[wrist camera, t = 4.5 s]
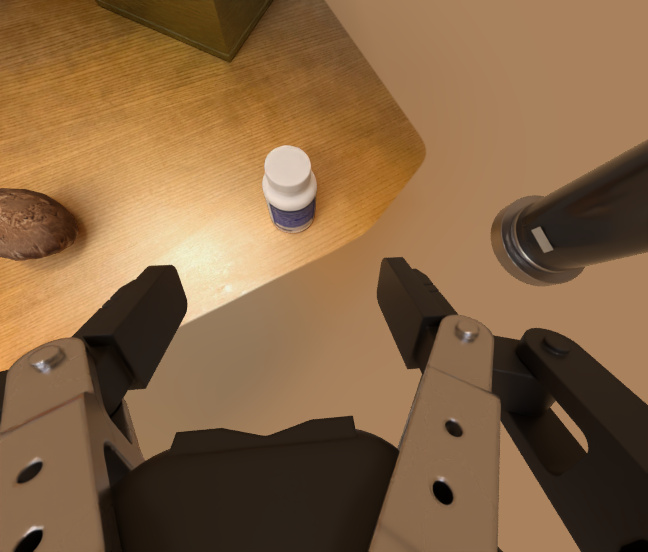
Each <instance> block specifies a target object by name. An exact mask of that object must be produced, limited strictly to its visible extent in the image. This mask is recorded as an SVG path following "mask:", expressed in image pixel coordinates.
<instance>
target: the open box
mask: <svg viewBox="0 0 648 552" xmlns="http://www.w3.org/2000/svg"><path fill="white" fill-rule="evenodd" d="M272 1H273V0H96V2H97V3H98V5H99V6H101V7H103V8H106V9H108V10H110V11H113V12H115V13H117V14H119V15H122V16H124V17H126V18H129V19H131V20H133V21H136V22H138V23H140V24H143V25H145V26H147V27H150V28H152V29H154V30H156V31H159V32H161V33H163V34H166V35H168V36H170V37H173V38H175V39H177V40H180V41H182V42H184V43H186V44H189V45H191V46H193V47H196V48H198V49H200V50H203V51H205V52H207V53H210V54H212V55H214V56H217V57H219V58H221V59H223V60H226V61H228V62H231V60H232V59H233V57H234V56H235V55H236V53H237V52H238V50H239V49H240V47H241V46H242V44H243V43H244V42H245V40H246V39H247V37H248V36H249V34H250V33H251V31H252V30H253V28H254V27H255V26H256V24H257V23H258V21H259V20H260V18H261V17H262V15H263V14H264V13H265V11H266V10H267V8H268V7H269V5H270V4H271V2H272Z"/></svg>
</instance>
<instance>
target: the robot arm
mask: <svg viewBox="0 0 648 552" xmlns="http://www.w3.org/2000/svg"><path fill="white" fill-rule="evenodd" d="M511 237H512V241H513V244H514V247H515V249H516V251H517V252H518V254H519V255H520V256H521V258H522V259H523V260H524V261H525V262H526V263H527V264H529V265H530V266H532V267H533V268H535V269H537V270H539V271H542V272H545V273H551V274H556V273H562V272H566V271H570V270H572V269H576V268H580V267H584V266H589V265H593V264H598V263H602V262H607V261H611V260H615V259H620V258H624V257H629V256H633V255H637V254H642V253H646V252H648V140H646V141H644V142H642V143H641V144H639V145H637V146H635V147H633V148H632V149H630V150H628V151H626V152H624V153H622V154H621V155H619V156H617V157H615V158H614V159H612V160H610V161H608V162H606V163H605V164H603V165H601V166H599V167H597V168H596V169H594V170H592V171H590V172H588V173H587V174H585V175H583V176H581V177H579V178H578V179H576V180H574V181H572V182H570V183H569V184H567V185H565V186H563V187H562V188H560V189H558V190H556V191H554V192H553V193H550V194H549V195H547V196H545V197H543V198H542V199H540V200H538V201H536V202H534V203H531V204H529V205H527V206H526V207H524V208H522V209H521V210H520V211H518V213H517V214H516V215H515V217H514V219H513V221H512V225H511ZM377 300H378V304H379V306H380V308H381V311H382V313H383V315H384V317H385V320H386V322H387V324H388V326H389V329H390V331H391V333H392V336H393V338H394V340H395V342H396V345H397V347H398V349H399V351H400V353H401V356H402V358H403V360H404V363H405V365H406V367H407V369H416V368H420V370H421V372H422V377H421V379H420V382H419V385H418V388H417V392H416V394H415V397H414V401H413V404H412V407H411V410H410V413H409V416H408V419H407V422H406V425H405V428H404V431H403V434H402V436H401V440H400V442H399V445H398V448H396V447H394V446H393V445H392V444H390V443H389V442H387V441H385V440H384V439H382V438H380V437H378V436H376V435H374V434H371V433H368V432H365V431H362V430H357V429H355V425H354V420H353V416H345V417H334V418H324V419H313V420H309V421H306V422H304V423H301V424H298V425H296V426H293V427H290V428H288V429H285V430H282V431H280V432H277V433H274V434H272V435H268V436H261V435H256V434H251V433H245V432H240V431H235V430H229V429H224V428H217V429H207V430H197V431H186V432H177V433H176V435H175V438H174V441H173V443H172V446H171V448H170V449H168V450H166V451H164V452H162V453H159V454H157V455H155V456H153V457H152V458H150V459H148V460H146V461H145V460H144V458H143V455H142V453H141V450H140V447H139V444H138V440H137V437H136V434H135V430H134V427H133V423H132V420H131V416H130V413H129V409H128V406H127V403H126V401H125V400H124V398H123V397H124V396H125V394H126V392H127V390H135V389H145V388H146V387H147V385H148V383H149V381H150V379H151V378H152V376H153V374H154V372H155V370H156V368H157V366H158V364H159V363H160V361H161V359H162V357H163V355H164V353H165V352H166V349H167V348H168V346H169V344H170V342H171V340H172V339H173V337H174V335H175V333H176V331H177V329H178V327H179V325H180V324H181V322H182V320H183V318H184V316H185V314H186V312H187V298H186V295H185V292H184V290H183V287H182V284H181V281H180V278H179V275H178V272H177V270H176V268H175V267H174V266H173V265H158V266H148V267H147V268H146V269H145V270H144V271H143V272H142V273H141V274H140V275H139V276H138V277H137V279H136V280H133V281H131V282H129V283H128V284H126V285H124V286H123V287H121V288H120V289H119V290H118V291H117V292H116V293H115V294H114V295H113V296H112V297H111V298H110V300H108V301H107V302H106V303H105V304H104V305H103V306H102V308H100V309H99V310H98V311H97V312H96V313H95V314H94V315H93V316H92V317H91V318H90V319H89V320H88V321H87V322H86V323H85V324H84V325H83V326H82V327H81V328H80V329H79V330H78V331H77V332H76V333H75V334H74V335H73V336H72V337H71V338H62V339H58V340H54V341H51V342H48V343H45V344H43V345H41V346H39V347H37V348H35V349H33V350H31V351H29V352H28V353H26V354H25V355H23V356H22V357H21V358H19V359H18V360H17V361H16V362H15V363H14V364H13V365H12V366H11V367H10V369H9V370H5V371H1V372H0V552H503V551H502V550H501V549H500V548H499V547H498V546H497V545H498V502H499V455H500V420H501V422H502V424H503V425H504V427H505V428H506V430H507V432H508V433H509V435H510V437H511V438H512V440H513V441H514V443H515V445H516V446H517V448H518V450H519V451H520V453H521V455H522V456H523V457H524V459H525V461H526V463H527V464H528V466H529V468H530V469H531V471H532V472H533V474H534V476H535V477H536V479H537V480H538V482H539V484H540V485H541V487H542V489H543V490H544V492H545V494H546V495H547V497H548V499H549V500H550V502H551V503H552V505H553V507H554V508H555V510H556V511H557V513H558V515H559V516H560V518H561V520H562V521H563V523H564V524H565V526H566V528H567V529H568V531H569V533H570V534H571V536H572V538H573V539H574V541H575V543H576V544H577V546H578V547H579V549H580V551H581V552H648V405H647V404H646V403H644V402H643V401H642V400H641V399H640V398H639V397H638V396H637V395H635V394H634V393H633V392H632V391H631V390H630V389H629V388H627V387H626V386H625V385H624V384H623V383H622V382H620V381H619V380H618V379H617V378H616V377H615V376H614V375H612V374H611V373H610V372H609V371H608V370H607V369H606V368H604V367H603V366H602V365H601V364H600V363H599V362H597V361H596V360H595V359H594V358H593V357H592V356H591V355H589V354H588V353H587V352H586V351H584V350H583V349H582V348H581V347H580V346H579V345H578V344H577V343H575V342H574V341H572V340H571V339H569V338H567V337H565V336H563V335H561V334H559V333H556V332H553V331H551V330H547V329H541V328H532V329H529V330H527V331H526V332H525V333H524V335H523V336H522V338H521V340H515V339H510V338H504V337H499V336H494V335H492V333H491V331H490V330H489V329H488V328H487V327H486V326H485V325H483V324H482V323H480V322H478V321H477V320H474V319H472V318H470V317H466V316H462V315H458V314H457V312H456V311H455V310H454V309H453V307H452V306H451V305H450V304H449V303H448V301H447V300H446V299H445V298H444V297H443V295H442V294H441V293H440V292H439V291H438V289H437V288H436V287H435V286H434V285H433V283H432V282H431V281H430V279H429V278H428V277H427V276H426V275H425V274H423V273H422V272H420V271H419V270H417V269H412V268H411V267H410V266H409V264H408V263H407V262H406V261H405V259H404V258H403V257H395V258H384V259H383V260H382V262H381V268H380V274H379V281H378V287H377ZM555 401H557V402H558V403H559V405H560V406H561V407H562V408H563V409H564V410H565V411H566V413H567V414H568V415H569V416H570V418H571V419H572V420H573V421H574V422H575V423H576V425H577V426H578V427H579V428H580V429H581V431H582V432H583V433H584V435H585V437H586V439H587V442H588V453H586V452H585V450H584V449H583V448H582V446H581V445H580V444H579V443H578V442H577V440H576V439H575V438H574V437H573V436H572V434H571V433H570V432H569V430H568V429H567V428H566V427H565V426H564V424H563V423H562V422H561V421H560V419H559V418H558V417H557V416H556V414H555V413H554V412H553V411H552V410H551V408H550V407H551V406H552V404H553V403H554V402H555Z"/></svg>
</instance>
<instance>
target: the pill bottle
mask: <svg viewBox="0 0 648 552" xmlns="http://www.w3.org/2000/svg"><path fill="white" fill-rule="evenodd" d="M264 168H265V174H264V177H263V181H262V187H263V192H264V195H265V199H266V202H267V206H268V209H269V213H270V216H271V219H272V222H273V223H274V225H275V226H276V227H277V228H279V229H280V230H282V231H284V232H288V233H298V232H301V231H303V230H305V229H307V228H308V227H309V226H310V225H311V223H312V222H313V219H314V216H315V205H316V194H317V182H316V178H315V175H314V173H313V172H312V170H311V163H310V160H309V157H308V156H307V154H306V153H305V152H304V151H302V150H301V149H299V148H297V147H294V146H280V147H277V148H275V149H273V150H272V151H271V152H270V153H269V154H268V156H267V157H266V159H265V164H264Z"/></svg>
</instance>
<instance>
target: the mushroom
mask: <svg viewBox="0 0 648 552" xmlns="http://www.w3.org/2000/svg"><path fill="white" fill-rule="evenodd" d="M78 233H79V230H78V227H77V223H76V221H75V218H74V217H73V216H72V215H71V214H70V213H69V212H68V211H67V210H66V209H65V208H64V207H63V206H62V205H61V204H60V203H58V202H56V201H55V200H53V199H52V198H50V197H49V196H47V195H45V194H42V193H38V192H34V191H30V190H26V189H7V188H1V189H0V257H3V258H8V259H12V260H16V261H19V260H27V259H37V258H42V257H46V256H49V255H52V254H56V253H59V252H61V251H62V250H64V249H65V248H67V247H69V246H70V245H72V244H73V243H74V241H75V239H76V237H77V235H78Z"/></svg>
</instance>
